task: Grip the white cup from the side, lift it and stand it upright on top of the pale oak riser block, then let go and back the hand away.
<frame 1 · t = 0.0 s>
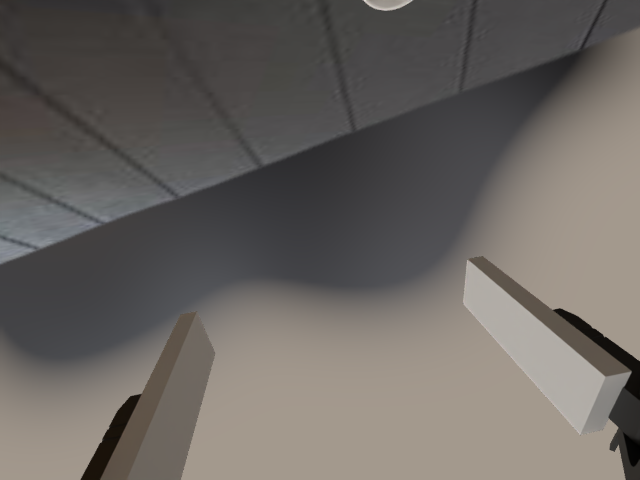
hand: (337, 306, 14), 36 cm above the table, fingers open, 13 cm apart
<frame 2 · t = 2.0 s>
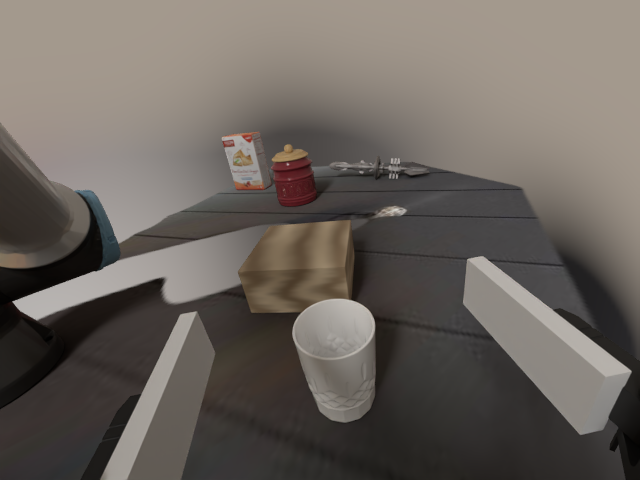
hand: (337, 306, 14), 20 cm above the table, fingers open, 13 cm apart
white cup: (344, 393, 32), on the table
spaceship: (377, 179, 102), on the table
riser block: (308, 281, 52), on the table
cracker box: (254, 188, 116), on the table
canister: (298, 200, 94), on the table
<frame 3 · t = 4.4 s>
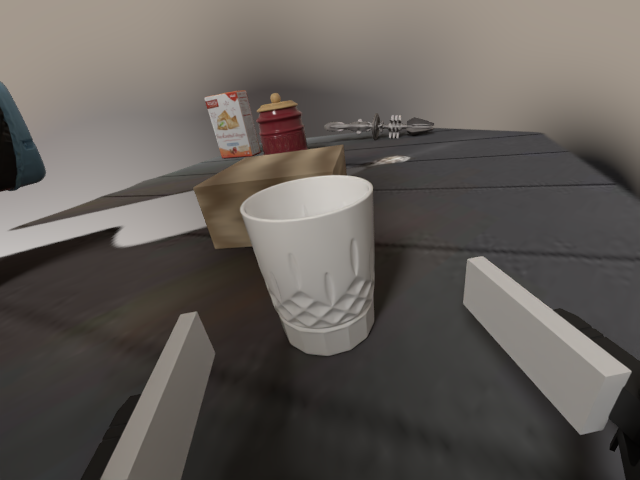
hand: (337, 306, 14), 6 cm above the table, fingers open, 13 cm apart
white cup: (329, 322, 22), on the table
spaceship: (376, 140, 93), on the table
riser block: (290, 218, 41), on the table
cracker box: (241, 156, 106), on the table
canister: (287, 160, 84), on the table
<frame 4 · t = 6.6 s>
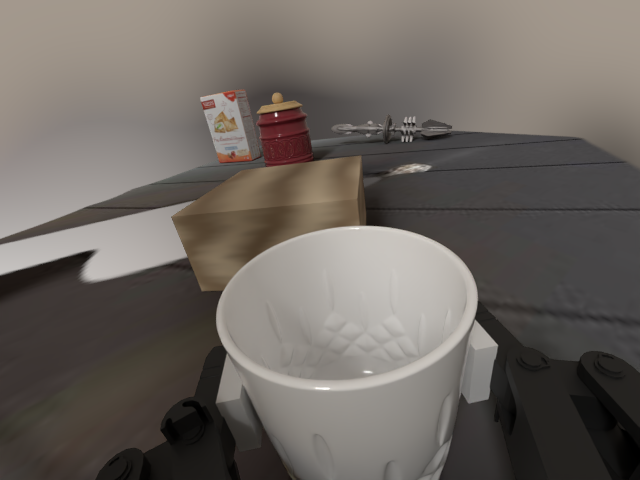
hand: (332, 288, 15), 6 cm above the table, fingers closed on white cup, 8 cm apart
white cup: (364, 451, 14), on the table, touching gripper
spaceship: (387, 144, 85), on the table
riser block: (297, 246, 34), on the table
cracker box: (240, 161, 98), on the table
canister: (291, 167, 76), on the table
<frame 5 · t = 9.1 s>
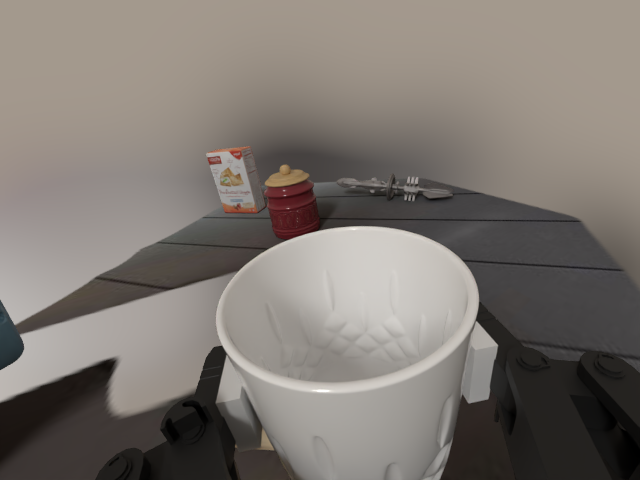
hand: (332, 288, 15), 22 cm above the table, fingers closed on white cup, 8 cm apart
white cup: (365, 452, 14), point 16 cm above the table, touching gripper
spaceship: (390, 200, 88), on the table
cracker box: (245, 210, 100), on the table
canister: (297, 230, 78), on the table
when the fingers open (15 cm above the table, at t = 11.7 s): white cup drops 1 cm, resting on riser block.
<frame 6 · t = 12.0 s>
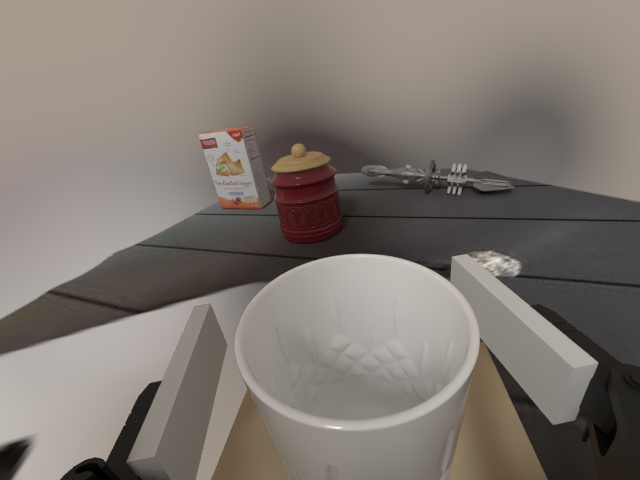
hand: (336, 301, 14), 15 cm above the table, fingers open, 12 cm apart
white cup: (367, 468, 14), point 8 cm above the table, touching riser block
spaceship: (428, 192, 70), on the table
cracker box: (247, 206, 83), on the table
canister: (312, 230, 61), on the table
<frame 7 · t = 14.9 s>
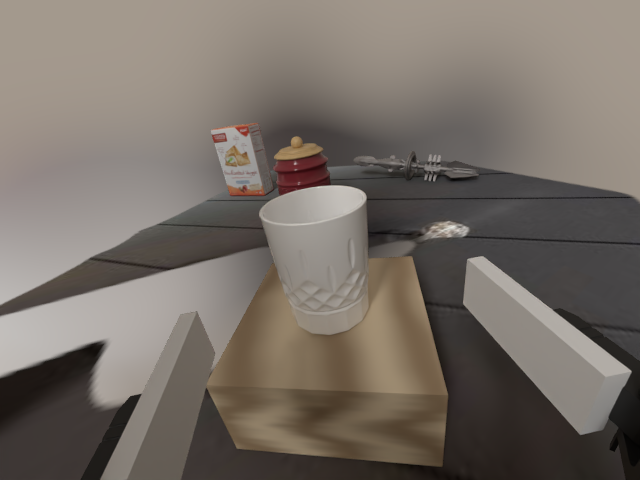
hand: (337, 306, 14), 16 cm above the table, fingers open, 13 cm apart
white cup: (330, 309, 25), point 8 cm above the table, touching riser block
spaceship: (409, 180, 82), on the table
riser block: (340, 368, 29), on the table
cracker box: (252, 193, 94), on the table
canister: (308, 210, 72), on the table
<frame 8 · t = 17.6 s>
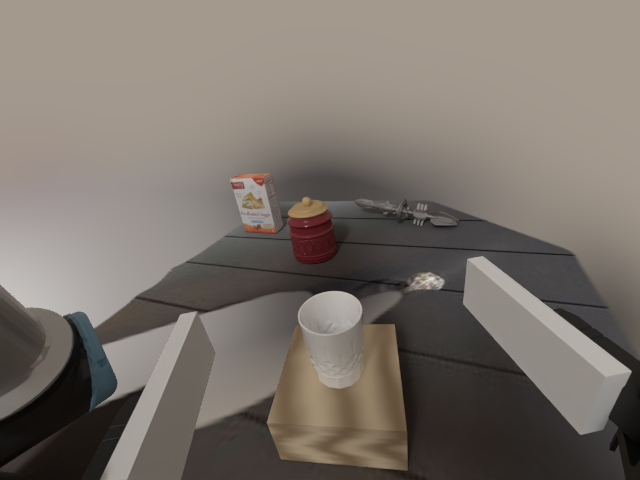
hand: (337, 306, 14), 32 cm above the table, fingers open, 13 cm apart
white cup: (339, 368, 39), point 8 cm above the table, touching riser block
spaceship: (401, 222, 96), on the table
riser block: (345, 403, 43), on the table
cracker box: (264, 230, 107), on the table
canister: (316, 253, 85), on the table
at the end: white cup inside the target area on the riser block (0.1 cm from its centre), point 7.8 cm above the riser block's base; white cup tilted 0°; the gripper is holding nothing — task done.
